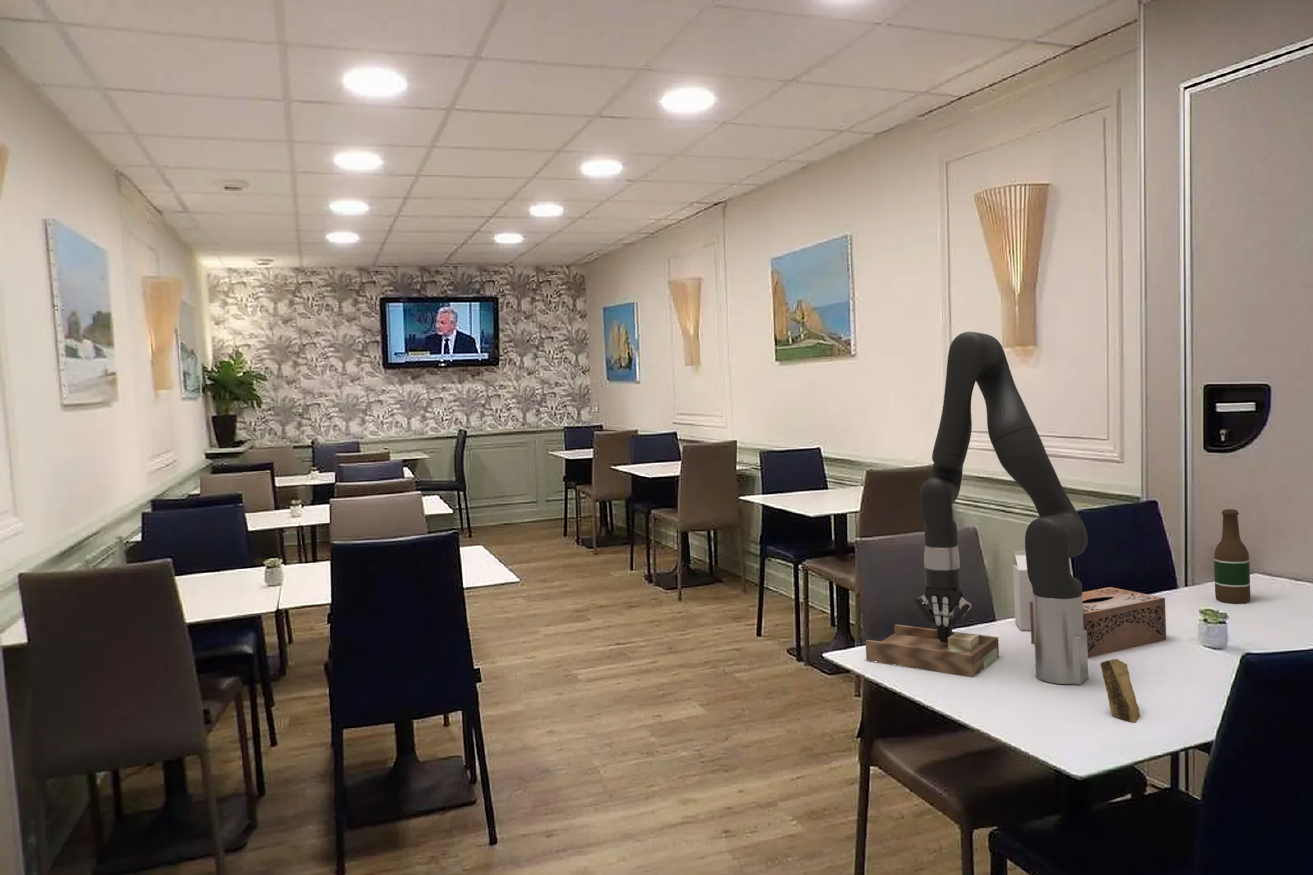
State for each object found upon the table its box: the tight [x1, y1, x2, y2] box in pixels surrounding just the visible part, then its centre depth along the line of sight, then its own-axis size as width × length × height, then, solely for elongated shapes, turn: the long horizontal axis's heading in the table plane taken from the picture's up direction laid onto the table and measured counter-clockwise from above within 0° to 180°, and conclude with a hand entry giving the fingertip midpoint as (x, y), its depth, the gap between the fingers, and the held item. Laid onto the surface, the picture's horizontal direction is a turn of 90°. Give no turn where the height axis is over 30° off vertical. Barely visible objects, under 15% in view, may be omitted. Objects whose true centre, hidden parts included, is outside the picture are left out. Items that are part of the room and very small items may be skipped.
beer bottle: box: [1213, 508, 1251, 605], centre depth 231 cm, size 8×8×24 cm
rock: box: [1099, 658, 1141, 724], centre depth 160 cm, size 11×9×10 cm
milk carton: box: [1012, 550, 1033, 631], centre depth 218 cm, size 7×7×19 cm
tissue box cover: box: [1030, 586, 1167, 659], centre depth 203 cm, size 26×14×10 cm, turn 113°
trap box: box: [865, 623, 1000, 678], centre depth 197 cm, size 24×16×4 cm, turn 50°
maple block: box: [948, 631, 979, 652], centre depth 196 cm, size 5×5×2 cm
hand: (944, 641), depth 199 cm, fingers closed
